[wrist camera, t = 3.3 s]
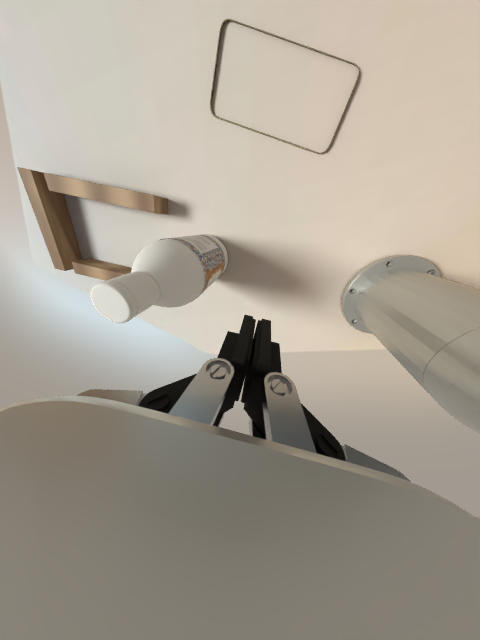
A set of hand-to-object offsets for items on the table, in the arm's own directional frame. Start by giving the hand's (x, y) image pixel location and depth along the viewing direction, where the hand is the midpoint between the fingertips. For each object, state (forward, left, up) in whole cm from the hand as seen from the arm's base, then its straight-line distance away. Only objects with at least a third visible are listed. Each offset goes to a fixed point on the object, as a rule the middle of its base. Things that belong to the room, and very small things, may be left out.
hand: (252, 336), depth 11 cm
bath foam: (+10, 0, -20) cm, 22 cm away
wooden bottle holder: (+27, 0, -20) cm, 33 cm away
